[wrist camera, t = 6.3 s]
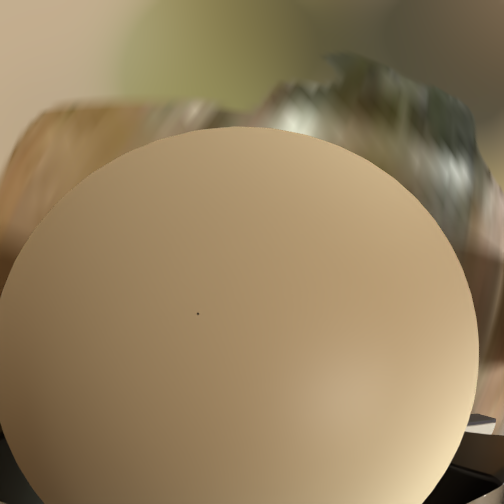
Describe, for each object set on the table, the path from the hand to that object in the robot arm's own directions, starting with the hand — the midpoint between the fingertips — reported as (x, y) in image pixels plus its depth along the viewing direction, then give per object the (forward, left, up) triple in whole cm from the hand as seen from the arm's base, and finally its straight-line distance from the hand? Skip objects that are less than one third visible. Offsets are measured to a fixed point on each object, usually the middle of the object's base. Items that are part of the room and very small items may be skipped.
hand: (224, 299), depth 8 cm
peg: (-1, +1, -7) cm, 7 cm away
